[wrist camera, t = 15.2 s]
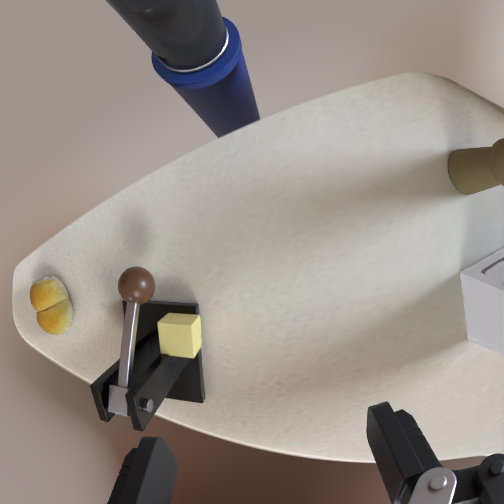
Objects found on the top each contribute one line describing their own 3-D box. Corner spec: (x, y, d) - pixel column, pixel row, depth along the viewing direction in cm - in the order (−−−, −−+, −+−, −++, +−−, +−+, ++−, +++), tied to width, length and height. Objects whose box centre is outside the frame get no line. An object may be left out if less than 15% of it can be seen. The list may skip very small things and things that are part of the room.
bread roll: (51, 333, 38) (36, 341, 34) (34, 281, 37) (17, 286, 33) (83, 329, 37) (67, 338, 33) (65, 271, 36) (47, 276, 32)
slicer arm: (131, 273, 32) (115, 260, 28) (163, 274, 31) (148, 261, 28) (116, 407, 26) (96, 409, 22) (149, 415, 25) (131, 419, 22)
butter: (168, 312, 34) (157, 322, 30) (200, 314, 33) (191, 325, 30) (171, 342, 34) (160, 354, 31) (202, 345, 34) (194, 358, 31)
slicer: (126, 298, 36) (59, 335, 22) (198, 303, 35) (151, 353, 21) (140, 388, 37) (94, 444, 24) (205, 398, 36) (174, 467, 23)
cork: (457, 200, 30) (511, 198, 19) (441, 154, 29) (493, 137, 18) (486, 187, 29) (540, 183, 18) (472, 144, 28) (523, 127, 17)
